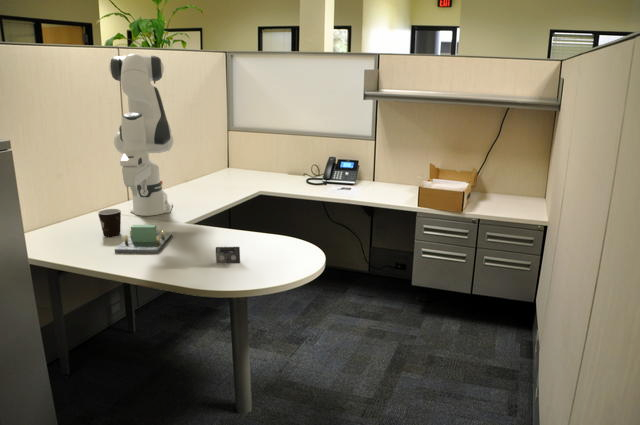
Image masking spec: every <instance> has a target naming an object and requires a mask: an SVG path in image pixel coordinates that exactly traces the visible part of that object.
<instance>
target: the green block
mask: <svg viewBox="0 0 640 425" xmlns="http://www.w3.org/2000/svg"><path fill="white" fill-rule="evenodd" d="M130 231H131V236H132V242H156V236H157V233H158V228H157V224H132V226H130Z"/></svg>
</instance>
